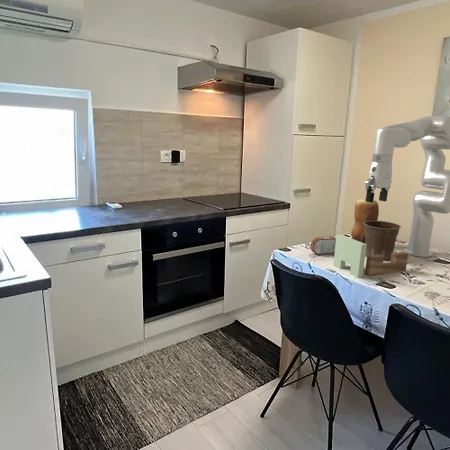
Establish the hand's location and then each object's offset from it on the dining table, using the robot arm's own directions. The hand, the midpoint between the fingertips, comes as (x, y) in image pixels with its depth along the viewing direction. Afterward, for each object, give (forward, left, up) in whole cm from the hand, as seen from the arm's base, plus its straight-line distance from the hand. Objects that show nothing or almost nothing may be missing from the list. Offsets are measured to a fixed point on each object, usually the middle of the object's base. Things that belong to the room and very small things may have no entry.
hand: (376, 201), depth 153 cm
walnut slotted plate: (-1, +7, -30) cm, 31 cm away
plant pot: (-23, +3, -30) cm, 38 cm away
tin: (-15, -21, -30) cm, 40 cm away
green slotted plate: (+5, -8, -30) cm, 31 cm away
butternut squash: (-40, -5, -30) cm, 50 cm away
